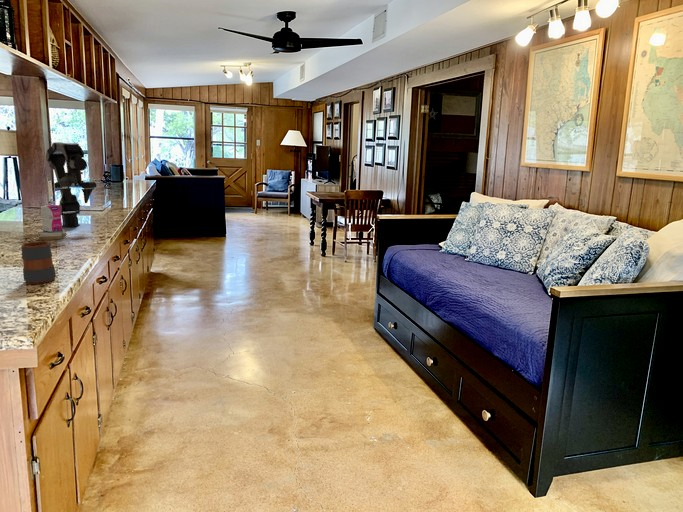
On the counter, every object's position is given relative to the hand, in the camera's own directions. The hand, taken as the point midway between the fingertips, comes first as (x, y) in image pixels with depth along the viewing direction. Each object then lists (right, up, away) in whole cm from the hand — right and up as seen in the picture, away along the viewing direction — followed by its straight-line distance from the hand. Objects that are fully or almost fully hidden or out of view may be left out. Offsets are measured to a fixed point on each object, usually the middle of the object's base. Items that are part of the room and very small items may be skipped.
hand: (77, 203), depth 250 cm
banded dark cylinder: (+33, -33, -87) cm, 99 cm away
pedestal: (-1, -18, -19) cm, 26 cm away
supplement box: (-1, -15, -19) cm, 24 cm away
